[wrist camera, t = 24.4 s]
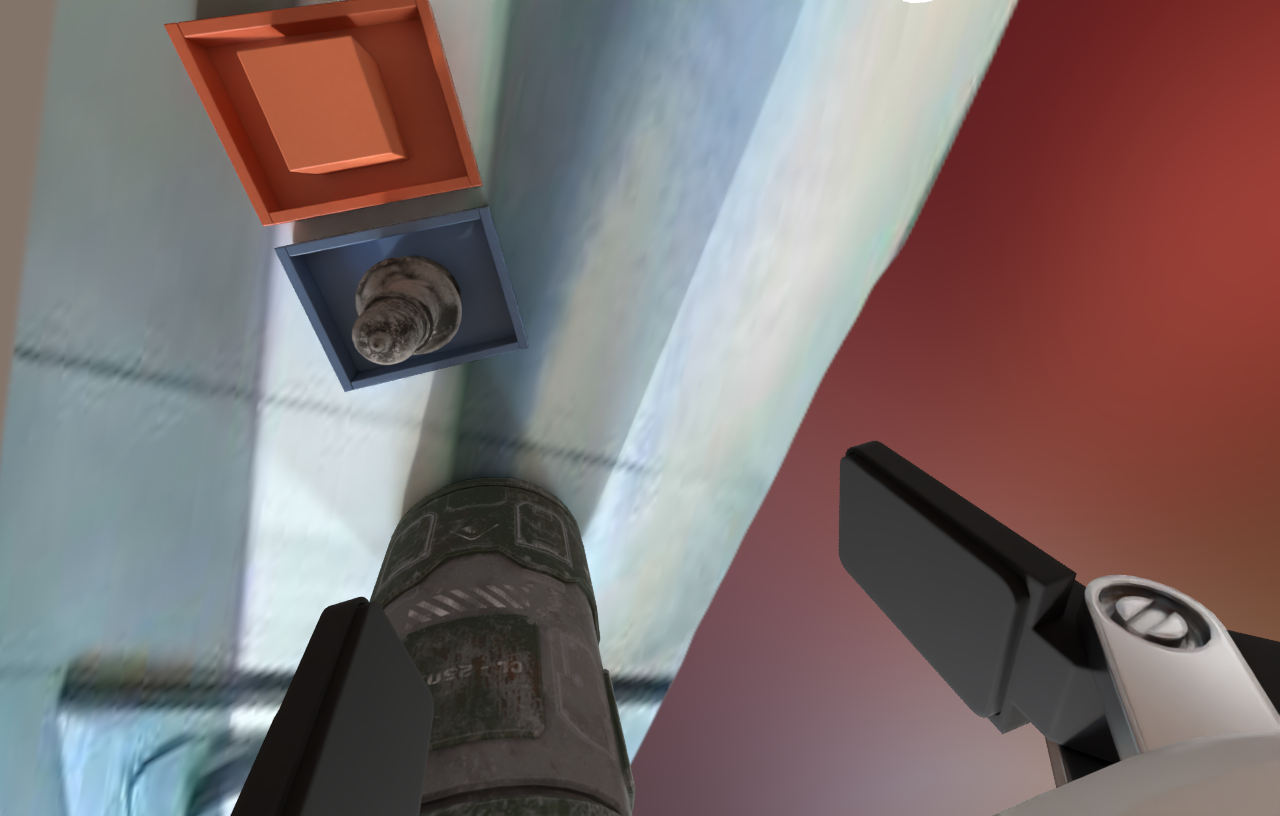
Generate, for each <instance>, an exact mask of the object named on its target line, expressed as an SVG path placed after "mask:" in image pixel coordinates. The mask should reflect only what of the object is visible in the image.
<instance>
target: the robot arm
mask: <svg viewBox="0 0 1280 816" xmlns="http://www.w3.org/2000/svg"><path fill="white" fill-rule="evenodd" d="M903 1H907V2H927V1H931V0H903ZM839 508H840V510H839V513H840V514H839V557H840V560H841V562H842V565H843V566H844V568H845V569H846V571H847V572H848V573H849V574H850V575H851V576H852V577H853V579H854V580H855V581H856V582H857V583H858V584H859V585H860V586H861V588H862V589H863V590H864V591H865V592H866V593H867V594H868V595H869V596H870V598H871V599H872V600H873V601H874V602H875V603H876V604H877V605H878V606H879V607H880V609H881V610H882V611H883V612H884V613H885V614H886V615H887V617H889V619H890V620H891V621H892V622H893V623H894V624H895V625H896V627H897V628H898V629H899V630H900V631H901V632H902V633H903V634H904V635H905V636H906V638H907V639H908V640H909V641H910V642H911V643H912V644H913V646H914V647H915V648H916V649H917V650H918V651H919V652H920V653H921V654H922V655H923V657H924V658H925V659H926V660H927V661H928V662H929V663H930V664H931V666H933V668H934V669H935V670H936V671H937V672H938V673H939V674H940V676H941V677H942V678H943V679H944V680H945V681H946V682H947V683H948V685H949V686H951V688H952V689H953V690H954V691H955V692H956V693H957V695H958V696H959V697H960V698H961V699H962V700H963V701H964V702H965V703H966V704H967V706H968V707H969V708H970V709H971V710H972V711H973V712H974V713H975V714H977V715H978V716H980V717H983V718H985V717H987V718H988V719H990V721H991V722H992V723H993V724H994V725H995V726H996V727H997V728H998V730H999V731H1000V732H1001V733H1002V734H1004V733H1007V732H1009V731H1011V730H1013V729H1016V728H1018V727H1021V726H1023V725H1025V724H1028V723H1029V722H1031V723H1032V724H1033V725H1034V726H1035V727H1036V728H1037V729H1038V730H1039V731H1040V732H1041V733H1042V734H1043V735H1044V736H1045V739H1046V743H1047V748H1048V752H1049V757H1050V761H1051V766H1052V770H1053V775H1054V779H1055V784H1056V788H1055V789H1053V790H1050V791H1048V792H1046V793H1043V794H1041V795H1038V796H1036V797H1034V798H1031V799H1029V800H1027V801H1025V802H1022V803H1020V804H1018V805H1016V806H1013V807H1011V808H1009V809H1007V810H1004V811H1002V812H1000V813H998V814H996V815H993V816H1280V642H1278V641H1273V640H1269V639H1264V638H1260V637H1256V636H1251V635H1247V634H1242V633H1238V632H1234V631H1230V630H1226V629H1225V627H1224V626H1223V625H1222V623H1221V622H1220V621H1219V620H1218V619H1217V618H1216V616H1215V615H1214V614H1213V613H1212V612H1211V611H1209V610H1208V609H1206V608H1205V607H1204V606H1202V605H1201V604H1200V603H1199V602H1197V601H1196V600H1194V599H1192V598H1191V597H1189V596H1187V595H1185V594H1183V593H1181V592H1179V591H1178V590H1176V589H1173V588H1170V587H1168V586H1165V585H1163V584H1160V583H1158V582H1155V581H1151V580H1147V579H1143V578H1138V577H1134V576H1122V575H1111V576H1104V577H1099V578H1097V579H1096V580H1093V581H1092V582H1090V583H1089V585H1088V586H1087V588H1086V587H1085V586H1084V585H1082V584H1081V583H1079V582H1078V581H1076V580H1075V577H1076V573H1075V572H1074V571H1072V570H1071V569H1069V568H1068V567H1066V566H1065V565H1063V564H1062V563H1060V562H1059V561H1057V560H1056V559H1054V558H1053V557H1051V556H1050V555H1048V554H1047V553H1045V552H1044V551H1042V550H1041V549H1039V548H1038V547H1036V546H1035V545H1033V544H1032V543H1030V542H1029V541H1027V540H1026V539H1024V538H1023V537H1021V536H1020V535H1018V534H1017V533H1015V532H1014V531H1012V530H1011V529H1009V528H1008V527H1006V526H1005V525H1003V524H1002V523H1000V522H999V521H997V520H996V519H994V518H993V517H991V516H990V515H988V514H987V513H985V512H984V511H983V510H981V509H980V508H978V507H976V506H975V505H973V504H972V503H970V502H969V501H967V500H966V499H965V498H963V497H962V496H960V495H958V494H957V493H956V492H954V491H952V490H951V489H950V488H948V487H947V486H945V485H944V484H942V483H941V482H939V481H938V480H936V479H934V478H933V477H932V476H930V475H929V474H927V473H926V472H924V471H923V470H921V469H920V468H918V467H917V466H915V465H914V464H912V463H911V462H909V461H908V460H906V459H905V458H903V457H902V456H900V455H899V454H897V453H896V452H894V451H893V450H891V449H890V448H888V447H887V446H885V445H884V444H882V443H880V442H878V441H871V442H867V443H864V444H861V445H858V446H854V447H851V448H849V449H848V450H847V452H846V455H845V457H843V458H842V459H841V462H840V507H839ZM433 715H434V702H433V697H432V693H431V691H430V689H429V687H428V686H427V684H426V682H425V681H424V679H423V677H422V675H421V674H420V672H419V670H418V669H417V667H416V665H415V663H414V662H413V660H412V658H411V657H410V655H409V653H408V652H407V650H406V648H405V646H404V645H403V643H402V641H401V640H400V638H399V636H398V634H397V633H396V631H395V629H394V628H393V626H392V624H391V622H390V621H389V619H388V617H387V616H386V614H385V612H384V610H383V609H382V607H381V605H380V604H379V603H378V602H376V601H373V602H369V601H368V600H367V599H366V598H364V597H358V598H354V599H351V600H348V601H345V602H341V603H338V604H335V605H331V606H328V607H327V608H325V609H324V611H323V612H322V614H321V616H320V618H319V621H318V623H317V625H316V628H315V630H314V632H313V634H312V637H311V639H310V641H309V643H308V646H307V648H306V650H305V652H304V655H303V657H302V659H301V661H300V664H299V666H298V668H297V670H296V673H295V675H294V677H293V679H292V682H291V684H290V686H289V688H288V691H287V693H286V695H285V697H284V700H283V702H282V704H281V707H280V709H279V711H278V712H277V714H276V716H275V717H274V719H273V721H272V724H271V726H270V728H269V730H268V733H267V735H266V737H265V739H264V742H263V744H262V746H261V748H260V751H259V753H258V755H257V757H256V760H255V762H254V764H253V766H252V769H251V771H250V773H249V775H248V777H247V780H246V782H245V784H244V786H243V789H242V791H241V793H240V795H239V798H238V800H237V802H236V804H235V807H234V809H233V811H232V813H231V816H419V814H420V807H421V799H422V792H423V785H424V778H425V771H426V764H427V757H428V750H429V743H430V736H431V729H432V722H433Z"/></svg>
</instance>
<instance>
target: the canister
mask: <svg viewBox="0 0 1280 816" xmlns="http://www.w3.org/2000/svg"><path fill="white" fill-rule="evenodd" d="M373 601H376V602H378V603H379V604H380V605H381V607H382V609H383V610H384V612H385V614H386V616H387V617H388V619H389V621H390V622H391V624H392V626H393V628H394V629H395V631H396V633H397V634H398V636H399V638H400V640H401V641H402V643H403V645H404V646H405V648H406V650H407V652H408V653H409V655H410V657H411V658H412V660H413V662H414V663H415V665H416V667H417V669H418V670H419V672H420V674H421V675H422V677H423V679H424V681H425V682H426V684H427V686H428V687H429V689H430V691H431V693H432V697H433V702H434V715H433V722H432V729H431V736H430V743H429V750H428V757H427V764H426V771H425V778H424V785H423V792H422V799H421V807H420V814H419V816H632V809H633V806H634V797H635V786H634V781H633V776H632V772H631V767H630V763H629V758H628V754H627V749H626V745H625V740H624V736H623V731H622V727H621V722H620V718H619V713H618V709H617V704H616V700H615V695H614V691H613V686H612V682H611V677H610V674H609V671H608V670H607V669H604V670H603V666H602V661H601V656H600V651H599V642H600V632H599V623H598V613H597V606H596V601H595V597H594V592H593V587H592V583H591V578H590V573H589V569H588V564H587V559H586V554H585V550H584V545H583V542H582V539H581V534H580V531H579V528H578V526H577V523H576V520H575V519H574V517H573V516H572V514H571V513H570V511H569V510H568V508H567V507H566V506H565V505H564V504H563V503H562V502H561V501H560V500H559V499H558V498H557V497H556V496H554V495H552V494H551V493H549V492H547V491H546V490H544V489H543V488H541V487H539V486H536V485H534V484H531V483H528V482H526V481H523V480H518V479H512V478H480V479H473V480H467V481H462V482H459V483H456V484H453V485H450V486H446V487H444V488H442V489H440V490H438V491H436V492H434V493H432V494H430V495H428V496H427V497H425V498H424V499H423V500H421V501H420V502H419V503H418V504H416V505H415V506H414V507H412V508H411V509H410V510H409V511H408V512H407V514H406V515H405V516H404V517H403V518H402V519H401V520H400V522H399V524H398V525H397V527H396V529H395V531H394V533H393V535H392V537H391V541H390V543H389V546H388V549H387V552H386V555H385V558H384V560H383V563H382V566H381V569H380V572H379V575H378V578H377V581H376V584H375V587H374V590H373V593H372V596H371V599H370V602H373Z"/></svg>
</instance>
